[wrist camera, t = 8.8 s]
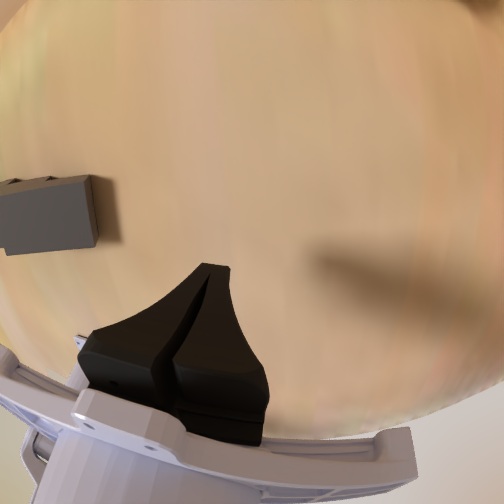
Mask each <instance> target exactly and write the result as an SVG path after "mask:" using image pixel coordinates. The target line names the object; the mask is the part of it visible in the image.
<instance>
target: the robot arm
mask: <svg viewBox="0 0 504 504" xmlns="http://www.w3.org/2000/svg"><path fill="white" fill-rule="evenodd" d="M229 281H230V268H229V267H228V266H222V265H215V264H208V263H201V264H200V265H199V266H198V267H197V268H196V269H195V270H194V271H193V272H192V273H191V274H190V275H189V276H188V277H187V278H186V279H185V280H184V281H183V282H181V283H180V284H179V285H178V286H177V287H176V288H175V289H173V290H172V291H171V292H170V293H168V294H167V295H166V296H165V297H163V298H162V299H161V300H159V301H158V302H156V303H155V304H153V305H152V306H150V307H149V308H147V309H145V310H143V311H141V312H139V313H138V314H136V315H134V316H132V317H130V318H127V319H125V320H123V321H120V322H118V323H115V324H113V325H110V326H107V327H103V328H100V329H97V330H93V332H92V333H91V334H90V336H89V337H88V339H86V338H83V337H80V336H77V335H76V336H75V337H74V340H75V342H76V345H77V347H78V349H79V351H80V352H79V354H78V356H77V358H78V361H77V363H76V364H75V366H74V368H73V370H72V372H71V373H70V375H69V377H68V379H67V381H66V383H65V384H64V385H63V384H61V383H59V382H57V381H55V380H53V379H51V378H49V377H47V376H45V375H43V374H41V373H39V372H37V371H35V370H33V369H31V368H29V367H27V366H26V365H24V364H22V363H20V362H19V360H18V358H17V356H16V355H15V354H14V353H13V352H12V351H11V350H10V349H8V348H6V347H5V346H3V345H1V344H0V405H1V406H3V407H4V408H5V409H6V410H8V411H9V412H11V413H12V414H13V415H15V416H16V417H17V418H19V419H20V420H22V421H23V422H25V423H26V424H27V425H29V427H28V429H27V432H26V434H25V437H24V442H23V444H22V447H21V449H20V453H21V460H22V462H23V464H24V466H25V468H26V469H27V471H28V473H29V474H30V476H31V478H32V479H33V481H34V483H35V488H34V491H33V493H32V496H31V499H30V502H29V504H297V503H298V504H299V503H315V502H327V501H336V500H343V499H351V498H358V497H364V496H371V495H376V494H382V493H387V492H389V491H391V490H394V489H396V488H398V487H401V486H403V485H405V484H407V483H409V482H411V481H413V480H415V479H417V478H418V472H417V465H416V458H415V453H414V447H413V441H412V436H411V431H410V428H409V427H401V428H392V429H386V430H383V431H380V432H379V433H377V434H376V436H375V437H374V438H363V439H346V440H298V439H279V438H266V437H262V432H263V424H264V418H265V411H266V408H267V405H268V403H269V398H270V395H269V386H268V382H267V378H266V374H265V371H264V368H263V366H262V364H261V363H260V362H259V360H258V359H257V357H256V356H255V354H254V353H253V351H252V349H251V348H250V346H249V344H248V342H247V340H246V338H245V337H244V335H243V333H242V330H241V328H240V326H239V323H238V320H237V318H236V315H235V312H234V308H233V304H232V300H231V295H230V289H229ZM34 443H35V444H34ZM37 454H38V455H39V456H41V457H42V458H44V459H46V460H47V461H48V464H47V463H45V462H44V461H42V460H41V459H40V458H39V457H38V456H37Z"/></svg>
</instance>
